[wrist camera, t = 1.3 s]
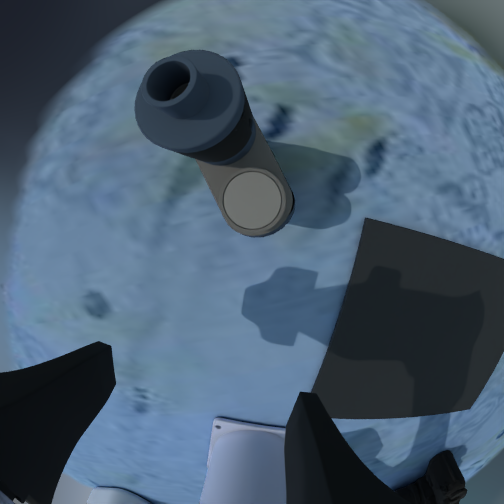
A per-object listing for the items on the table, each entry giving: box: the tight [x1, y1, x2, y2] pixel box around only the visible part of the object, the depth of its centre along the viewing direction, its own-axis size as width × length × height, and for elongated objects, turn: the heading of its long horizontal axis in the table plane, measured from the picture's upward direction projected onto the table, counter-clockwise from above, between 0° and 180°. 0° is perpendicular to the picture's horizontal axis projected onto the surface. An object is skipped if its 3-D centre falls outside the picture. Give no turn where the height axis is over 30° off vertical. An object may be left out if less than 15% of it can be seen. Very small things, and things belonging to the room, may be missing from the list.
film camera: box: [394, 450, 467, 504], centre depth 18 cm, size 15×10×9 cm, turn 18°
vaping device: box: [135, 50, 295, 237], centre depth 10 cm, size 3×5×12 cm, turn 25°
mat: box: [311, 218, 504, 419], centre depth 17 cm, size 16×20×1 cm
